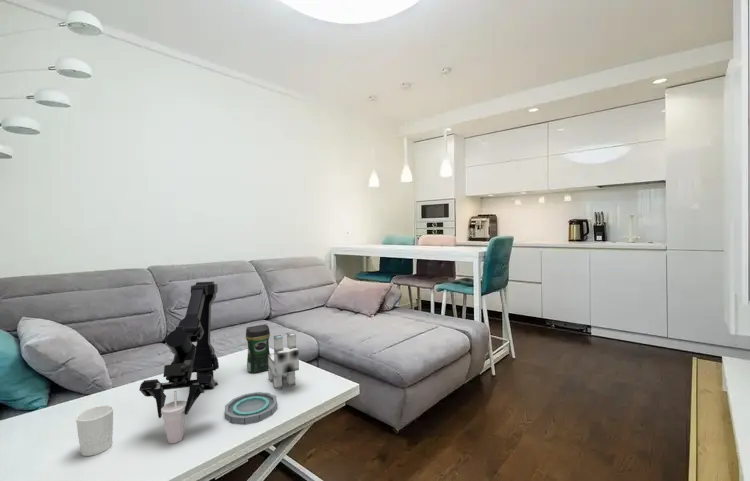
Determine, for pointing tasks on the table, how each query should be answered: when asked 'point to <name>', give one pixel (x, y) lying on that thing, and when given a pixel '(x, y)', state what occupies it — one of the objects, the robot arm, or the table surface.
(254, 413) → the tray
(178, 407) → the smoothie
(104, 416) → the white cup
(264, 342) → the coffee jar
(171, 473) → the table surface
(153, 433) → the table surface
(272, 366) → the toy llama
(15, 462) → the table surface
